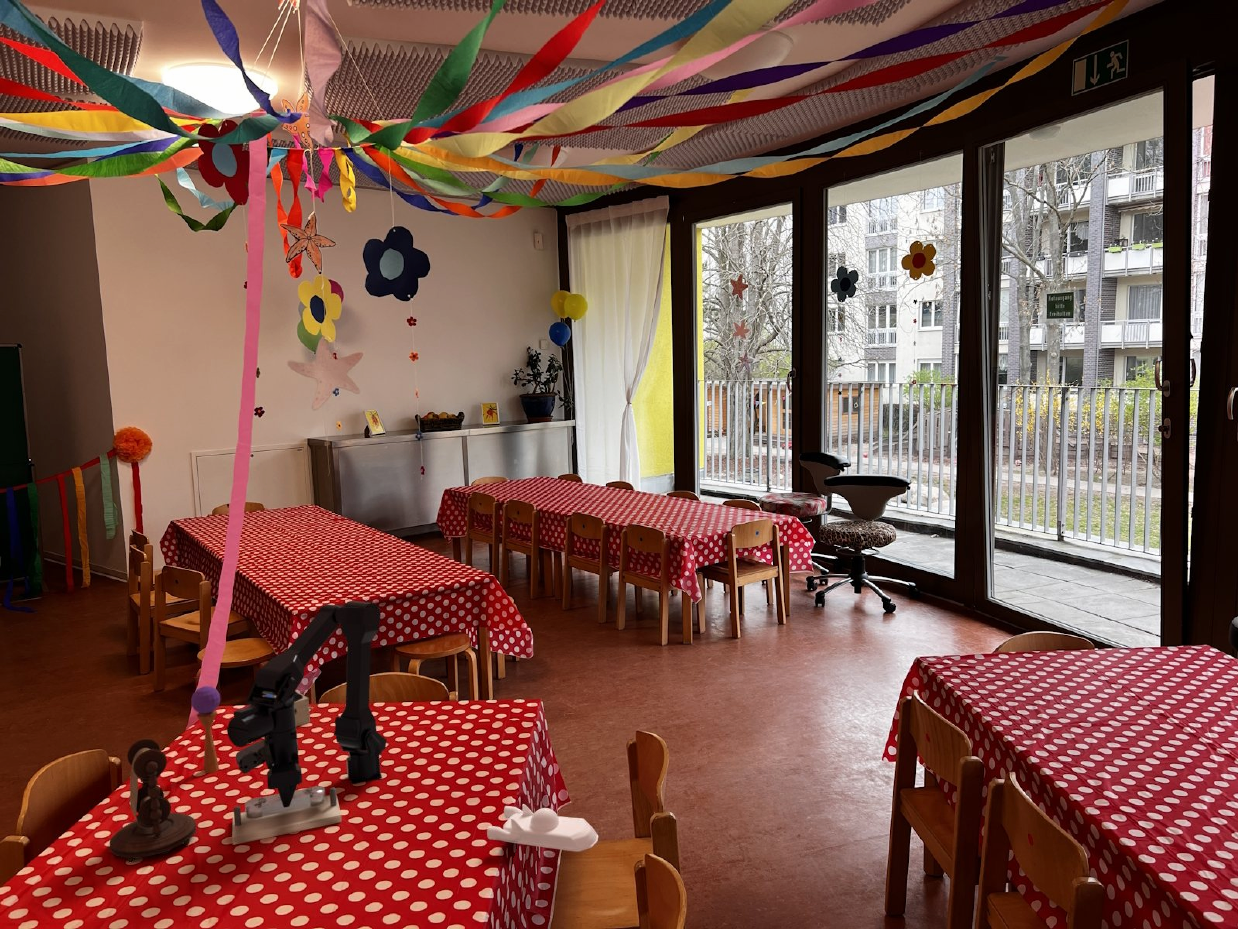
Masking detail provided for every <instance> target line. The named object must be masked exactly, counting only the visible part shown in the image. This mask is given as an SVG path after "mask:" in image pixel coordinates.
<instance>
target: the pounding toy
mask: <svg viewBox="0 0 1238 929" xmlns="http://www.w3.org/2000/svg"><path fill="white" fill-rule="evenodd" d="M295 691H296V692H297V693H298V694H300V695H302V696H303V698H302V699H300V700H298V701H296V702H294V707H295V721H296V727H299V726H302V725H306V724H310V723H311V720H310V719H311V718H310V710H313V709H314V707H312V706H310V704H309V702H310V701H309V697H308V696H305V695H304V694H302V693H300V692H299V691H297V689H296V690H295ZM263 696H265V697H271V698H275V697H276V696H275V695H269V694H265V695H263Z"/></svg>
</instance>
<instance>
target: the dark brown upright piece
mask: <svg viewBox="0 0 1238 929" xmlns="http://www.w3.org/2000/svg"><path fill="white" fill-rule="evenodd" d="M126 759H127V761H128V763H129V765H130V766H131V770H130V782H129V791H130V792H129V801H130V803H129V805H130V810H131V812H132V814H133V817H134V818H135V820H134V821H132V822H130V823H128V824H126V825H125V826H122V828H120V829H119V830H117V831H116V832H115V833H114V834H112V836H111V837H110V840H109V850H110V853H112V854H113V855H114V856H116V857H119V858H127V861H128V863H129V862H131V863H133V862H135V858H145V857H150V856H155V855H158V854H161V853H165V852H167V851H169V850H173V849H175V848H177V847H179V846H181V845H182V844H183V845H184V846H185V847H187V846H189V843H190V838H192V837H193V836H194V834H195V833H196V830H197V825H196V824H197V823H196V820H195V818H194V817H192V816H191V815H189V814H184V813H180V812H171V811H172V807H171V806H172V805H171V802H170V800H169V799H167V798H165V793H164V790H163V789H162V788H161V787H160V785H158V782H159V781H158V778H159V777H160V776H161V774H162V773H163V772H164V771H165V770H166V767H167V764H168V763H167V761H168V760H167V756H166V754H165V752H163V751H162V750H161V748H160V745H159V743H158V742H157V741H155V740H153V739H151V738H143V739H139V740H137V741H135V742H134V743H133V744H132V745H131V746H130V747H129V748H128V752H127V758H126ZM139 780H140V782H141V787H140V788H139Z"/></svg>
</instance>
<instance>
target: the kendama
mask: <svg viewBox="0 0 1238 929" xmlns="http://www.w3.org/2000/svg"><path fill="white" fill-rule="evenodd" d="M190 699H191V700H190V701H191V707H192V708H193V710H194V711H195V712H197V714H196V717H197V719H198V720H199V721H200V723H201V724H202V726H203V728H204V729H205V730H204V731H205V733H204V735H205V736H204V754H203V755H204V756H203V772H204V773H215V772H217V771H219V770H220V767H219V763H218V757H217V753H216V748H215V742H214V738H213V732H212V725H213V723H214V721H215V718H216V716H217V713H218V711H217V710H216V709H217V708H218V707H219V705H220V703H221V695H220V693H219V691H218V689H216V688H215V687H213V686H208V685H205V686H201V687H199V688H198V689H196V690H195V692H193V693H192V695H191V698H190Z"/></svg>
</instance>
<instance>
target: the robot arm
mask: <svg viewBox="0 0 1238 929" xmlns="http://www.w3.org/2000/svg"><path fill="white" fill-rule="evenodd" d="M380 622H381V609H380V607H379V606H378V605H377V604H376V603H374V602H368V601H367V602H366V601H356V600H349V601H347V602H346V603H345V604H329V603H328V604H327V603H326V604H324V605H322V606H320V608H319V610H318V613H317V615H316V616H315V617H314V618H313V619H312V620H311V621H310V622H309V623H308V625H307V626H306V627H305V628H304V630H302V632H301V633H300V634H299V636H297V638H295V639H294V641H293V642H292V643H291V645H290V646H289V647H287V649H286V650H285V651H284V652H282V653H280V654H278V655H276V656H274V657H272V658H271V659H269V660H268V661H267V662H266V663H265V664H264V665H262V666H261V668H259V670H257V673H256V675H255V680H254V683H253V685H252V687H251V689H250V691H249V694H248V696H247V698H246V700H245V704H246V705H249V706H246V707H244V708H240V709H237V710H235V711H233V718H231V719H230V720H229V722H228V725H227V727H226V733H227V736H228V739H229V741H230V742H231V744H233V745H234V746H235V747H237V748H243V747H245V748H243V749H240V750H239V751H237V753H236V754H235V762H236V764H237V765H238V770H240V771H241V773H242V775H245V774H248V773H250V771H252V770H254V769H255V768H258V767H259V766H261V765H264V763H265V766H266V767H267V770H268V771H267V772H266V779H267V781H266V782H267V789H268V790H274V789H275V790H277V792H278V794H279V795H280V798H281V801H282V804H283V807H284V808H285V807H289V806H290V804H291V801H292V798H293V795H294V793H295V791H297V790H296V789H297V787H298V785H300V784H302V783H303V773H302V772H303V771H302V766H301V765H299V764H300V761H299V760H300V759H299V745H298V735H297V734H298V733H297V726H296V721H295V707H294V702H296V701H298V700H300V699H302V698H303V696H302V695H303V694H302V695H300V694H298V693H297V692H298V691H297V688H298V687H299V685H301V682H302V681H303V678H304V676H305V671H306V670H305V669H306V667H307V665H308V664H309V662H310V661H311V659H313V657H314V656H315V655H316V654H317V652H318V651H319V650H320V649H321V647H323V645H324V644H325V643H326V642H327V641H328V639H329V638H330V636H332V635H333V633H334V632H335V631H336V630H337V629H338V627H339V626H340V629H341V632H342V634H343V636H344V638H345V640H346V642H347V652H346V654H347V655H346V657H347V658H346V678H345V679H346V684H345V687H346V688H345V689H346V690H345V707H344V710H343V711H342V712H341V714H340V716H336V717H335V719H334V726H335V727H334V733H333V736H335V739H336V743H338V744H339V747H340V749H341V751H342V752H346V753H348V757H346V771H347V779H348V780H349V781H350V783H351V784H352V785H356V784H362V783H367V782H370V781H376V780H382V778H383V776H382V773H381V760H380V758H381V757H380V755H381V754H382V752H383V751H384V750H386V747H387V739H386V738H385V737H384V736H383V735H381V734H380V733H379V732H378V731H377V723H376V718H375V716H374V714H373V712H372V711H371V708H370V686H371V685H370V684H371V682H370V681H371V656H372V655H371V653H372V641H373V639H374V638H375V636H376V635H377V633H378V632H379V629H380ZM295 690H296V691H297V692H296V691H295ZM262 694H265V695H267V694H269V695H275V696H276V697H275V698H271V697H265V696H264V695H262ZM263 738H264V739H263ZM261 739H262V740H261ZM251 743H252V744H251ZM249 744H251V745H249ZM248 745H249V746H248Z"/></svg>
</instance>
